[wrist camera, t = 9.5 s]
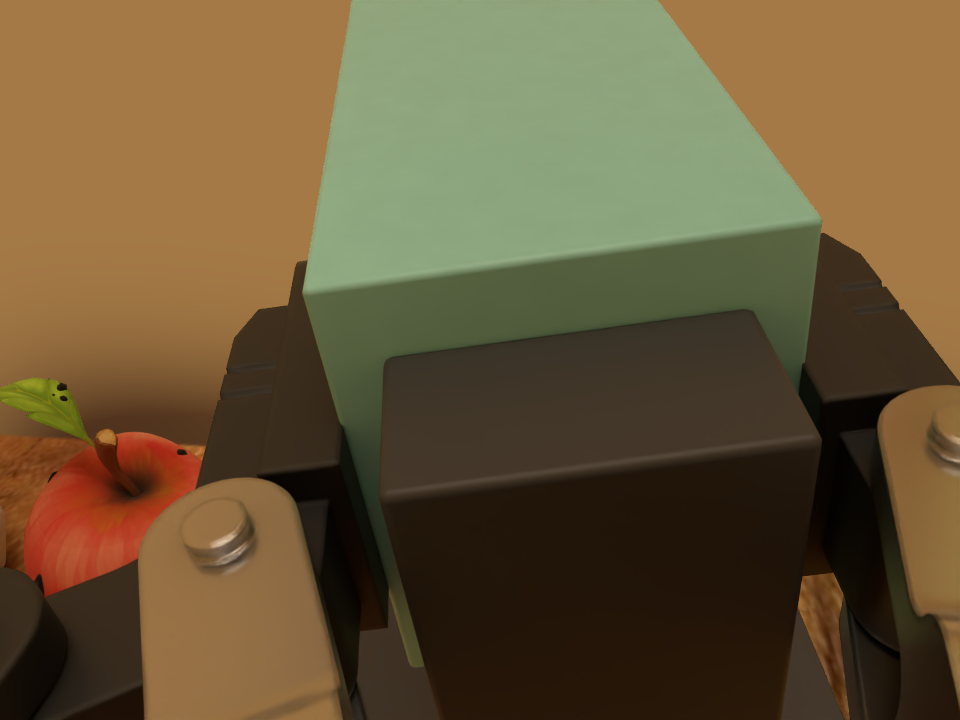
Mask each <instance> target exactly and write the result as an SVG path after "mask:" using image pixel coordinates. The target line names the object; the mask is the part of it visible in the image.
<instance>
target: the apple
mask: <svg viewBox="0 0 960 720" xmlns="http://www.w3.org/2000/svg"><path fill="white" fill-rule="evenodd" d="M0 402H2V403H5V404H7V405H10V406H13V407H15V408H17V409H20V410H22V411H25V412H31V414H29V415H27V416H28V417H30V418H32V419H34V420H35V421H38V422H41V423H44V424H46V425H49V426H52V427H55V428H57V429H59V430H62V431H65V432H67V433H70V434H72V435H74V436H77V437H79V438H81V439H83V440H85V441H87V442H88V443H90V444H91V446H89V447H88V448H86V449H85V450H83V451H82V452H80V453H79V454H78V455H76V456H75V457H74V458H72V459H71V460H70V461H69V462H68V463H67V464H65V465H64V466H63V467H62V468H61V469H60V470H59V471H58V472H54V473H52V475H51V476H50V478H49V481H48V484H47V485H46V486H45V488H44V489H43V491H42V492H41V494H40V495H39V497H38V499H37V500H36V502H35V504H34V506H33V508H32V510H31V513H30V516H29V519H28V522H27V525H26V530H25V535H24V563H25V569H26V574H27V575H28V576H29V577H30V578H31V579H32V580H34V581H35V583H36V584H37V586H38V587H39V589H40V590H41V592H42V593H43V595H44V596H45V597H46V596H49V595H51V594H54V593H56V592H59V591H62V590H64V589H67V588H69V587H72V586H75V585H77V584H80V583H82V582H85V581H87V580H90V579H93V578H95V577H98V576H100V575H103V574H106V573H108V572H111V571H113V570H115V569H118V568H120V567H122V566H124V565H127V564H128V563H130V562H132V561H134V560H136V559H137V558H138V555H139V549H140V546H141V542H142V540H143V538H144V536H145V534H146V532H147V530H148V528H149V527H150V526H151V524H152V523H153V522H154V520H155V519H156V518H157V517H158V516H159V515H160V514H161V513H162V512H163V511H164V510H165V509H166V508H167V507H168V506H170V505H171V504H172V503H173V502H175V501H176V500H178V499H179V498H181V497H182V496H184V495H185V494H187V493H189V492H191V491H193V490H195V487H196V484H197V480H198V476H199V472H200V468H201V464H202V461H201V460H200V459H199V458H198V457H196V456H195V455H193V454H192V453H191V452H189V451H187V450H186V449H184V448H182V447H180V446H179V445H177V444H175V443H173V442H171V441H169V440H167V439H164V438H162V437H159V436H156V435H153V434H149V433H143V432H127V433H122V434H116V435H115V434H114V431H113V430H111V429H105V430H102V431H100V432H98V433H97V434H96V435H95V440H94V443H93V442H92V441H91V440H90V439H89V438H88V436H87V434H86V432H85V429H84V427H83V424H82V421H81V418H80V414H79V411H78V407H77V405H76V402H75V400H74V397H73V395H72V394H71V392H70V391H69V390H68V388H67V385H66V384H63V383H60V382H58V381H55V380H52V379H49V378H48V379H47V380H45V379H40V378H31V379H26V380H21V381H18V382H16V383H13V384H10V385H7V386H4V387H1V388H0Z"/></svg>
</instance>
